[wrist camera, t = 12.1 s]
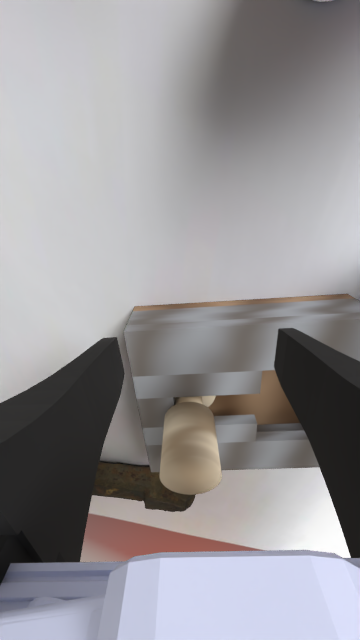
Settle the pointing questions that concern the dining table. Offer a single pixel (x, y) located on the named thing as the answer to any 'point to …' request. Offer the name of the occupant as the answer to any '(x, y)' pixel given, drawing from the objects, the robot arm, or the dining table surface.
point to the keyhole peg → (190, 447)
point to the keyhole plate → (232, 370)
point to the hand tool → (138, 487)
